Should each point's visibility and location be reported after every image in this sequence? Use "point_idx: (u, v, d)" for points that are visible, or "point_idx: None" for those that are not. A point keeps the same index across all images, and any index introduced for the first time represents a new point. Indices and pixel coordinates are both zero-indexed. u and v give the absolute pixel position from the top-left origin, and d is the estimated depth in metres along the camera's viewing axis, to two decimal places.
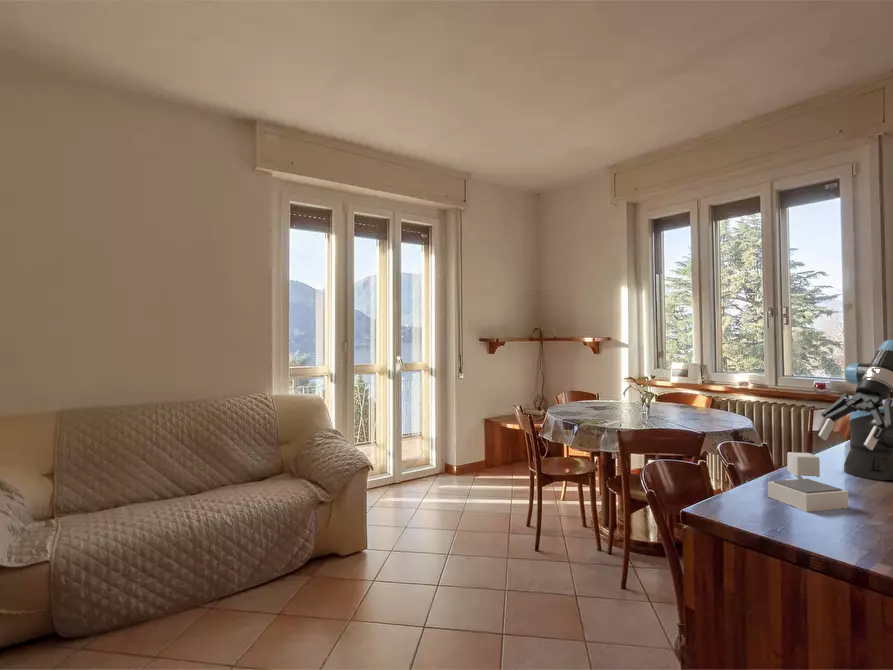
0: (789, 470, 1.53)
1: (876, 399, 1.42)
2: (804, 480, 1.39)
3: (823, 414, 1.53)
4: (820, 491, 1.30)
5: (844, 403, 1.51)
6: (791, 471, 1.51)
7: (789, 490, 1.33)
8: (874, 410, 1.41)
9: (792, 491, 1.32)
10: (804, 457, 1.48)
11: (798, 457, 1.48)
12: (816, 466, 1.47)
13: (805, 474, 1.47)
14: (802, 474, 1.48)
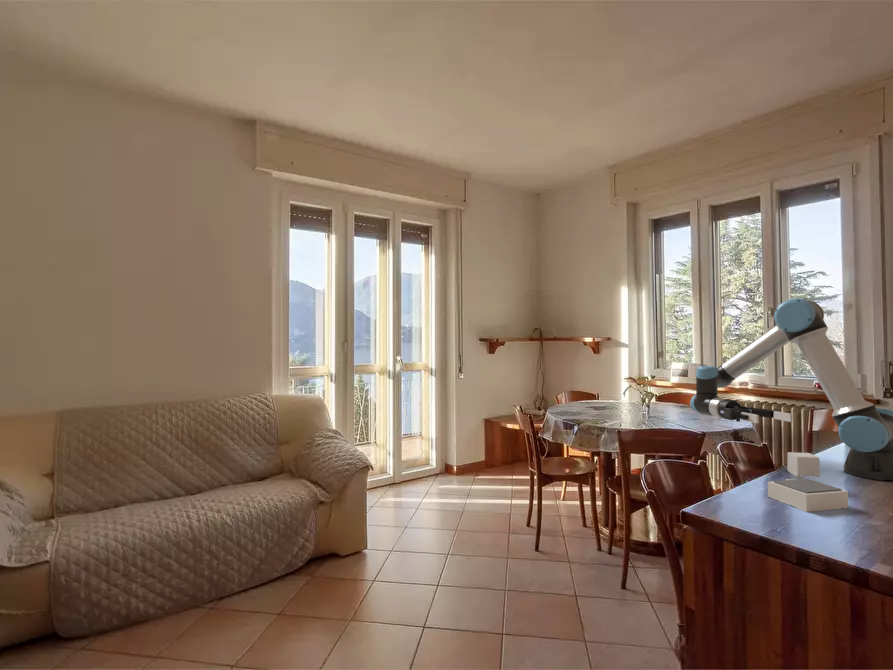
0: (789, 470, 1.53)
1: None
2: (804, 480, 1.39)
3: None
4: (820, 491, 1.30)
5: None
6: (791, 471, 1.51)
7: (789, 490, 1.33)
8: None
9: (792, 491, 1.32)
10: (804, 457, 1.48)
11: (798, 457, 1.48)
12: (816, 466, 1.47)
13: (805, 474, 1.47)
14: (802, 474, 1.48)
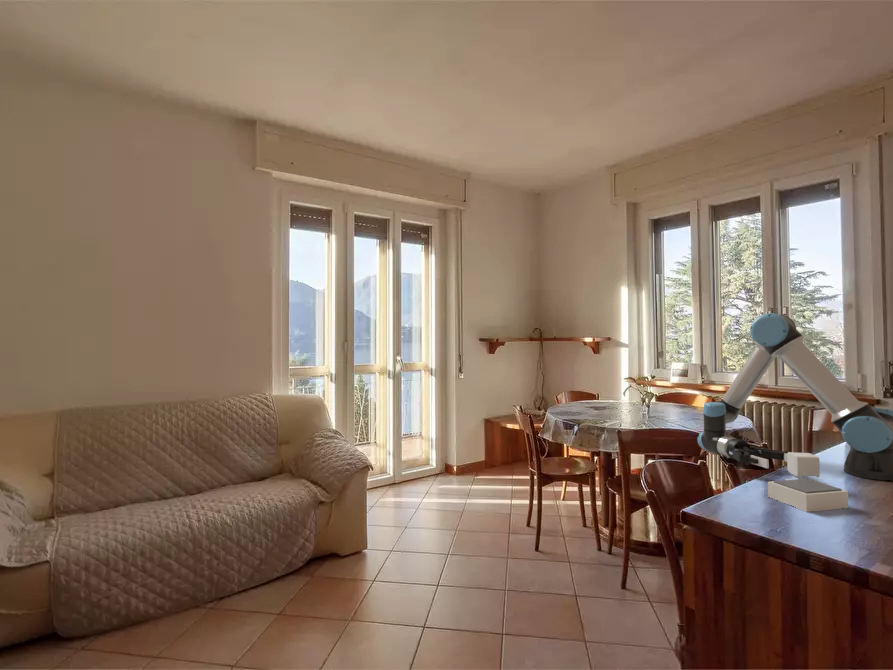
0: (789, 470, 1.53)
1: None
2: (804, 480, 1.39)
3: None
4: (820, 491, 1.30)
5: None
6: (791, 471, 1.51)
7: (789, 490, 1.33)
8: None
9: (792, 491, 1.32)
10: (804, 457, 1.48)
11: (798, 457, 1.48)
12: (816, 466, 1.47)
13: (805, 474, 1.47)
14: (802, 474, 1.48)
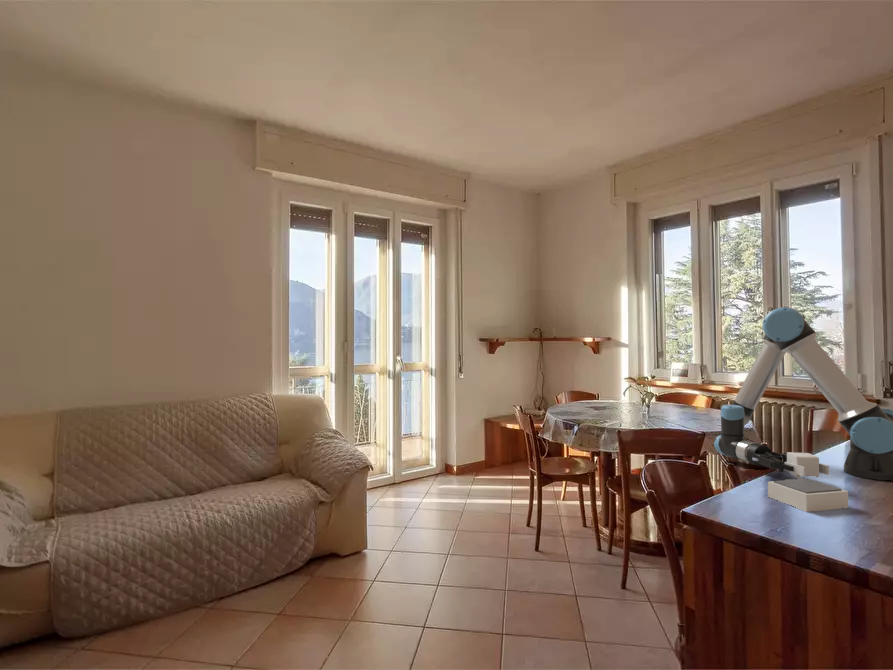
0: None
1: None
2: (804, 480, 1.39)
3: None
4: (820, 491, 1.30)
5: None
6: None
7: (789, 490, 1.33)
8: None
9: (792, 491, 1.32)
10: (804, 457, 1.48)
11: (798, 457, 1.48)
12: (816, 466, 1.47)
13: None
14: None
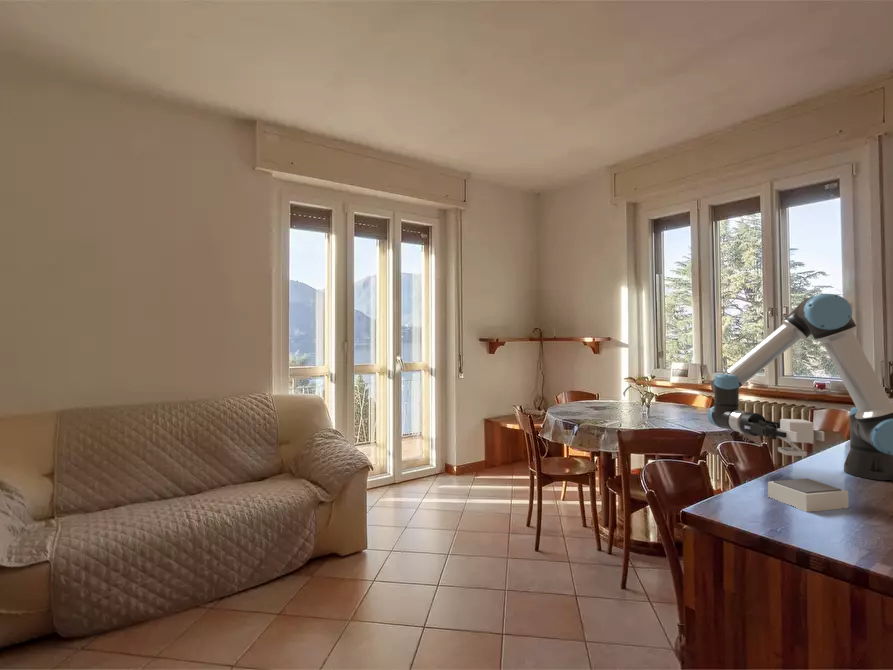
0: None
1: None
2: (804, 480, 1.39)
3: None
4: (820, 491, 1.30)
5: None
6: None
7: (789, 490, 1.33)
8: None
9: (792, 491, 1.32)
10: (797, 423, 1.39)
11: (791, 423, 1.40)
12: (810, 432, 1.38)
13: None
14: None
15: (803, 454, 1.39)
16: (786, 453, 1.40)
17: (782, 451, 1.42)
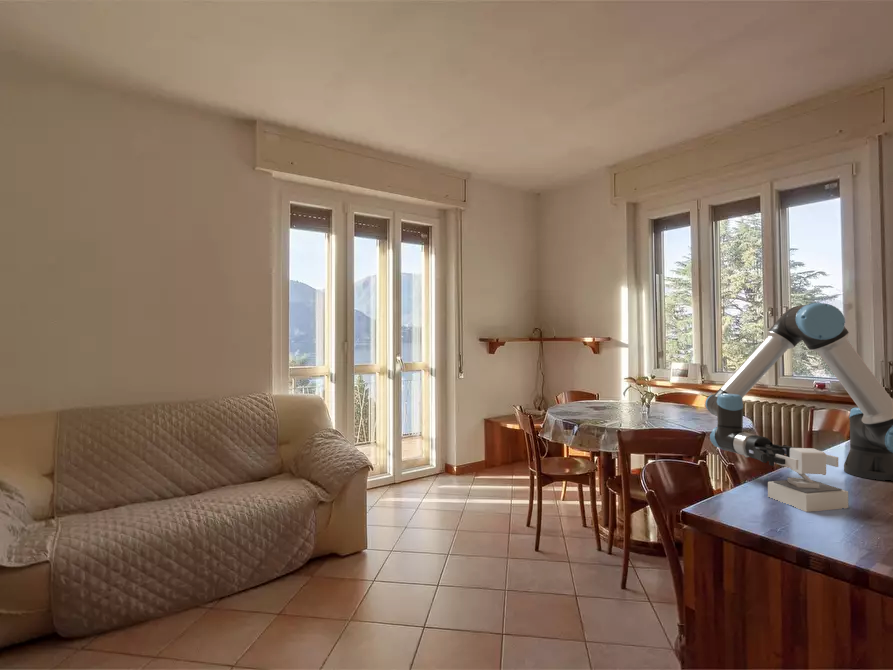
0: None
1: None
2: None
3: None
4: (820, 491, 1.30)
5: None
6: (794, 469, 1.36)
7: (789, 490, 1.33)
8: None
9: (792, 491, 1.32)
10: (809, 453, 1.32)
11: (802, 453, 1.33)
12: (822, 463, 1.31)
13: (810, 472, 1.32)
14: (807, 472, 1.32)
15: (815, 486, 1.32)
16: (798, 485, 1.33)
17: (793, 482, 1.35)
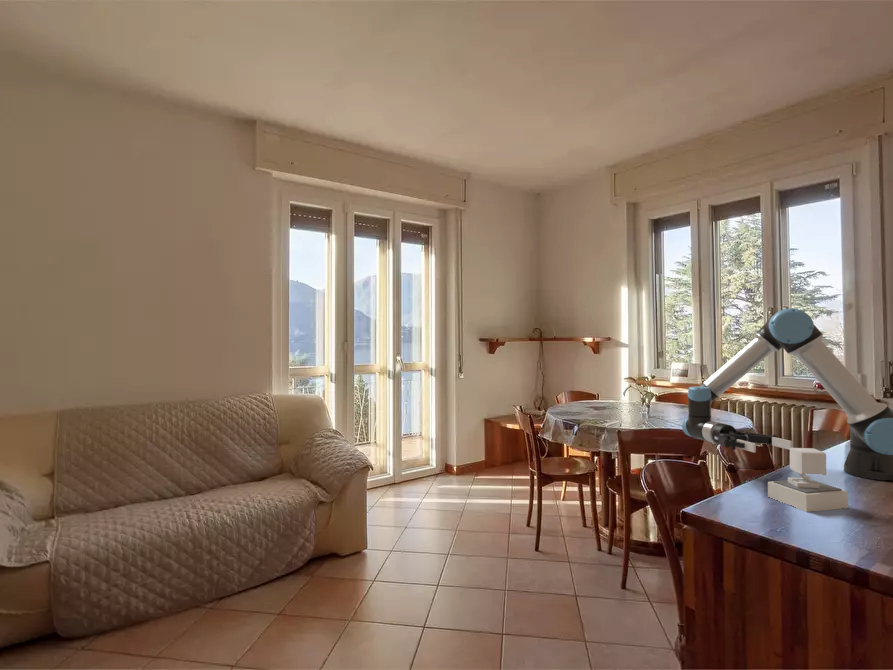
0: (792, 468, 1.37)
1: None
2: None
3: None
4: (820, 491, 1.30)
5: None
6: (794, 469, 1.36)
7: (789, 490, 1.33)
8: None
9: (792, 491, 1.32)
10: (809, 453, 1.32)
11: (802, 453, 1.33)
12: (822, 463, 1.31)
13: (810, 472, 1.32)
14: (807, 472, 1.32)
15: (815, 486, 1.32)
16: (798, 485, 1.33)
17: (793, 482, 1.35)
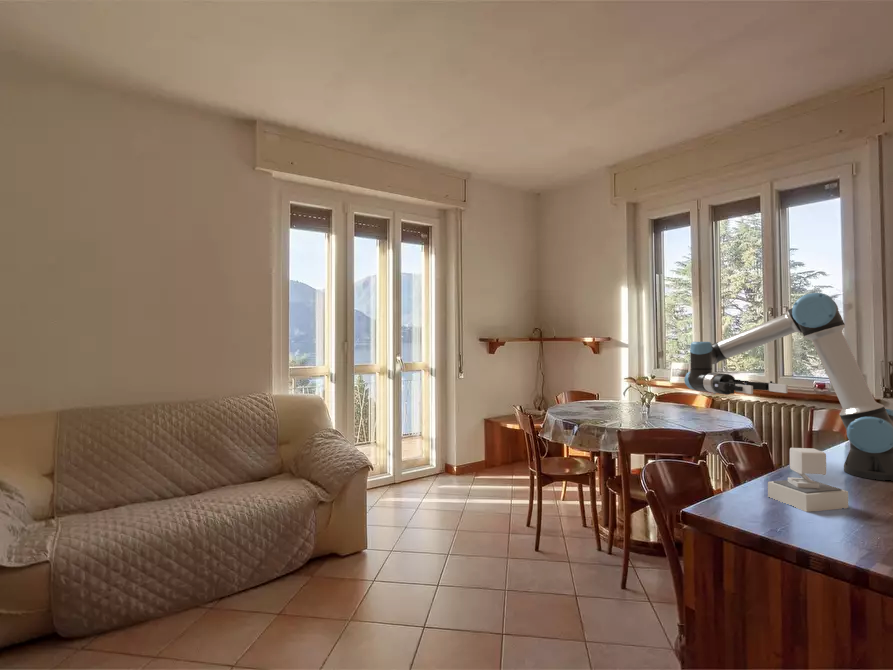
0: (792, 468, 1.37)
1: None
2: None
3: None
4: (820, 491, 1.30)
5: None
6: (794, 469, 1.36)
7: (789, 490, 1.33)
8: None
9: (792, 491, 1.32)
10: (809, 453, 1.32)
11: (802, 453, 1.33)
12: (822, 463, 1.31)
13: (810, 472, 1.32)
14: (807, 472, 1.32)
15: (815, 486, 1.32)
16: (798, 485, 1.33)
17: (793, 482, 1.35)
